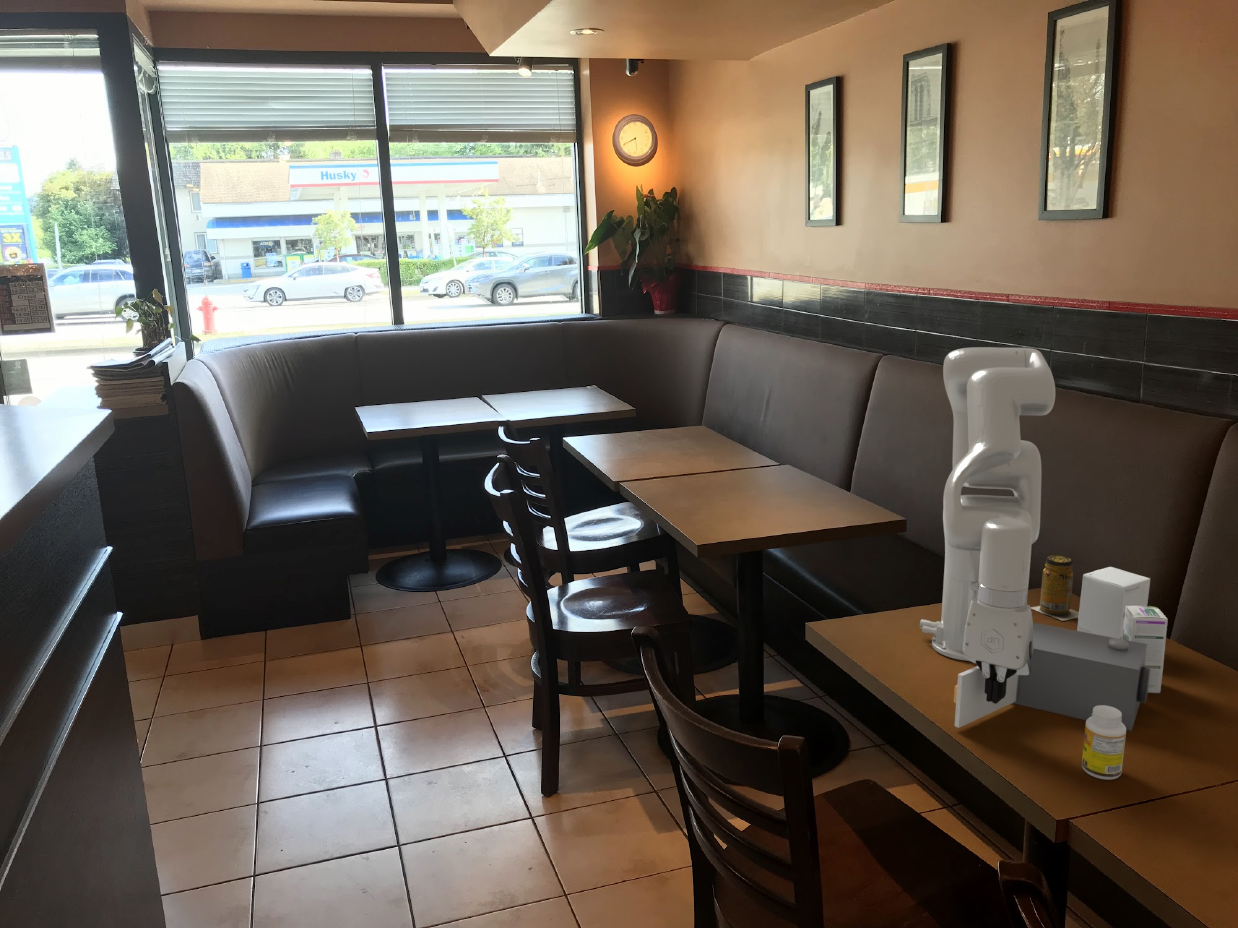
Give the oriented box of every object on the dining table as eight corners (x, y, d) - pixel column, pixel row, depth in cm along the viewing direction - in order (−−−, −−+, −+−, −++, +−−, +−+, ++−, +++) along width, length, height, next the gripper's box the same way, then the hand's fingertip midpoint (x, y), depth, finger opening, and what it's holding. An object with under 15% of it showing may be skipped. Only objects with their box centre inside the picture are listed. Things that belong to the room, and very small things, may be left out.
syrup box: (1161, 693, 174) (1170, 618, 170) (1125, 691, 175) (1134, 616, 172) (1151, 679, 179) (1159, 606, 176) (1116, 677, 180) (1124, 604, 177)
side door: (1008, 696, 172) (1012, 647, 170) (1017, 700, 170) (1022, 650, 168) (949, 723, 163) (952, 671, 161) (958, 727, 161) (962, 675, 159)
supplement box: (1116, 659, 188) (1124, 586, 184) (1074, 643, 195) (1081, 573, 192) (1144, 649, 192) (1152, 577, 189) (1102, 634, 200) (1109, 565, 196)
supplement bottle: (1086, 758, 153) (1093, 698, 151) (1125, 769, 150) (1132, 709, 147) (1076, 773, 149) (1082, 712, 147) (1115, 785, 145) (1122, 723, 143)
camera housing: (1005, 701, 172) (1010, 638, 169) (1020, 675, 182) (1025, 615, 179) (1139, 732, 160) (1147, 665, 158) (1147, 703, 170) (1155, 640, 167)
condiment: (1053, 603, 217) (1057, 552, 214) (1085, 615, 209) (1090, 563, 207) (1029, 608, 214) (1034, 557, 211) (1061, 621, 206) (1066, 568, 204)
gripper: (948, 590, 159) (941, 694, 163) (1041, 611, 149) (1032, 721, 153) (966, 579, 165) (960, 679, 168) (1058, 599, 155) (1049, 705, 159)
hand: (994, 699), depth 161 cm, fingers closed
